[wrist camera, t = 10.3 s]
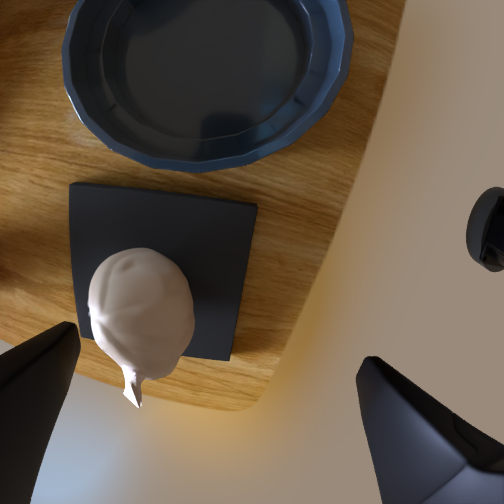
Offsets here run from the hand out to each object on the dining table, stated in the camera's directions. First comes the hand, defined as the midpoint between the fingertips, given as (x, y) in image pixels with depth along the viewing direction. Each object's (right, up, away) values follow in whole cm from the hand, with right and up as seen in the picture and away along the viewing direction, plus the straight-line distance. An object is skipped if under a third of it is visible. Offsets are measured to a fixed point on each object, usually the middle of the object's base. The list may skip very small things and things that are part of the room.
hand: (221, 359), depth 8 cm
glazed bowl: (-2, +15, +6) cm, 16 cm away
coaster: (-6, +1, +12) cm, 13 cm away
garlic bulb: (-5, +1, +11) cm, 12 cm away
